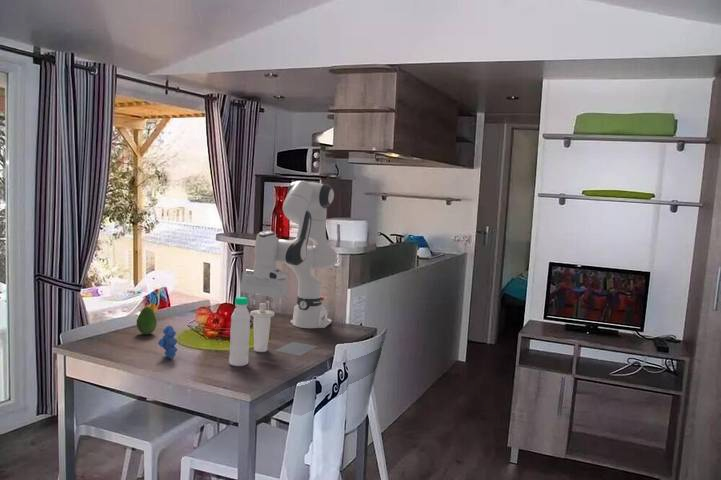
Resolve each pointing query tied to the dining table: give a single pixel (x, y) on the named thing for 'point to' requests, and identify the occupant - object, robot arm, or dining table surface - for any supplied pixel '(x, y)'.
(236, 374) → the dining table surface
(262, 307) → the lid
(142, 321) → the avocado
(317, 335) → the dining table surface
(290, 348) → the mat
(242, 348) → the water bottle
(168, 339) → the grapes
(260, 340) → the drinking glass
